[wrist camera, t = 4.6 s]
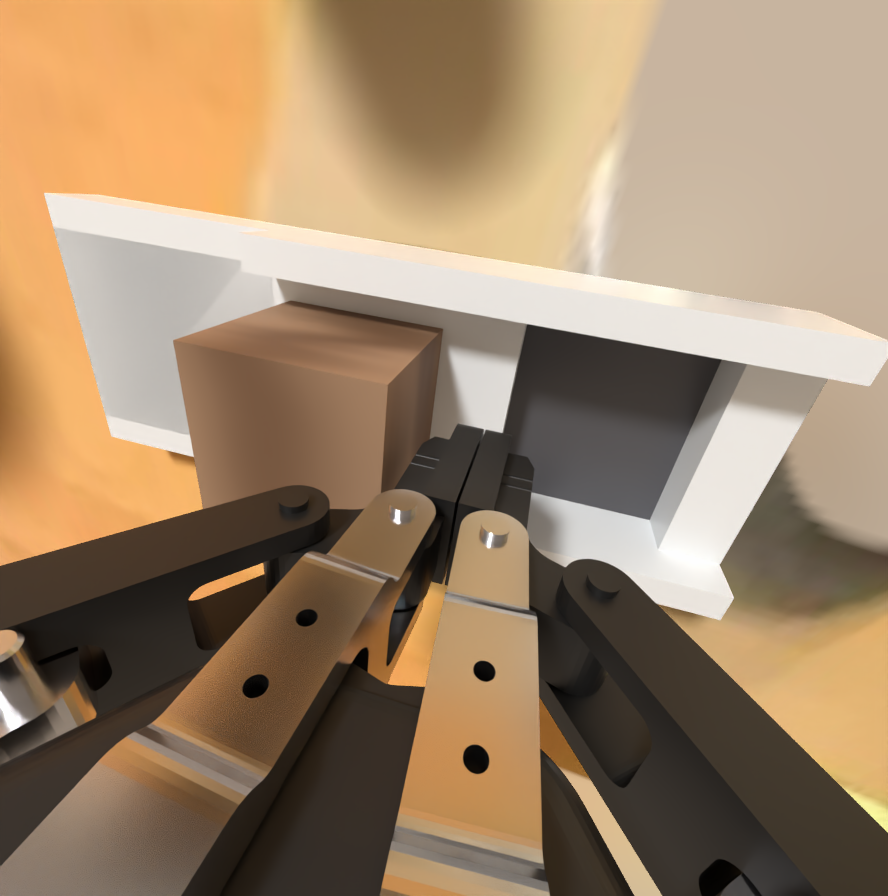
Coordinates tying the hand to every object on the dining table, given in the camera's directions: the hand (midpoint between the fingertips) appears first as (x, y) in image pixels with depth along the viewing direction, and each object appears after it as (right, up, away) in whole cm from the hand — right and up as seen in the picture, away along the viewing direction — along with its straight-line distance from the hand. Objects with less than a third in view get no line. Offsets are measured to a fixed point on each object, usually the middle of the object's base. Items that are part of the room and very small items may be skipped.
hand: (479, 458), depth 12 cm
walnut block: (-4, +2, +3) cm, 5 cm away
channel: (-2, +3, +4) cm, 6 cm away
